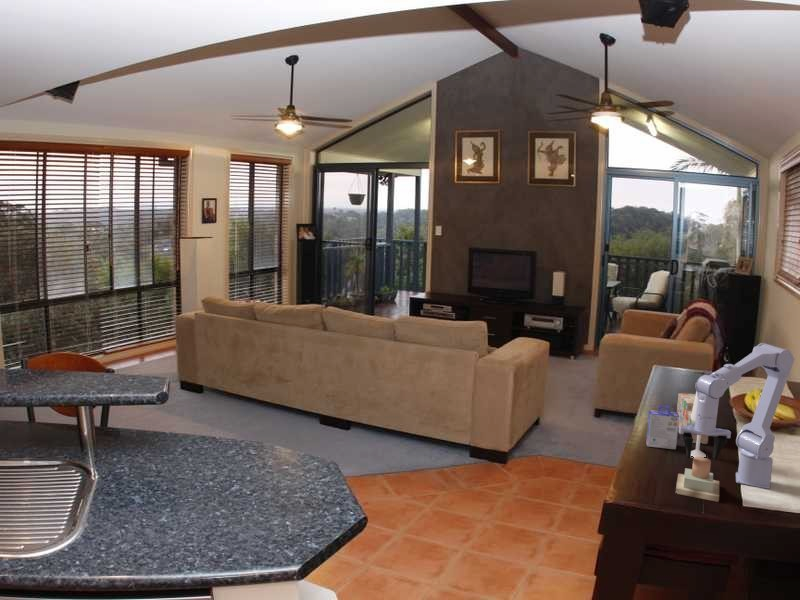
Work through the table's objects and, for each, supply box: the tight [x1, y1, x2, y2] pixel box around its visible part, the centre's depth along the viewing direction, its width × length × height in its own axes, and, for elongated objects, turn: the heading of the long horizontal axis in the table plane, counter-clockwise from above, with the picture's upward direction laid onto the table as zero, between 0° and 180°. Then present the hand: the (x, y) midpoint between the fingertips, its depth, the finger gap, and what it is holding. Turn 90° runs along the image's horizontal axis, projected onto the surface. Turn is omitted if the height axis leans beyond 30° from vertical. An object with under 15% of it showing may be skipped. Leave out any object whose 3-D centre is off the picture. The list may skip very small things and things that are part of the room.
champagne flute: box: [691, 390, 707, 458], centre depth 249 cm, size 7×7×24 cm
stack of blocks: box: [676, 393, 709, 445], centre depth 271 cm, size 21×6×12 cm, turn 173°
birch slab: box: [675, 473, 720, 503], centre depth 223 cm, size 12×12×2 cm
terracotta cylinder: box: [691, 457, 712, 479], centre depth 222 cm, size 5×5×5 cm
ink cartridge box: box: [645, 404, 679, 450], centre depth 257 cm, size 10×6×14 cm, turn 79°
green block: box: [684, 467, 714, 493], centre depth 223 cm, size 8×8×3 cm
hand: (701, 457), depth 221 cm, fingers open, 7 cm apart
